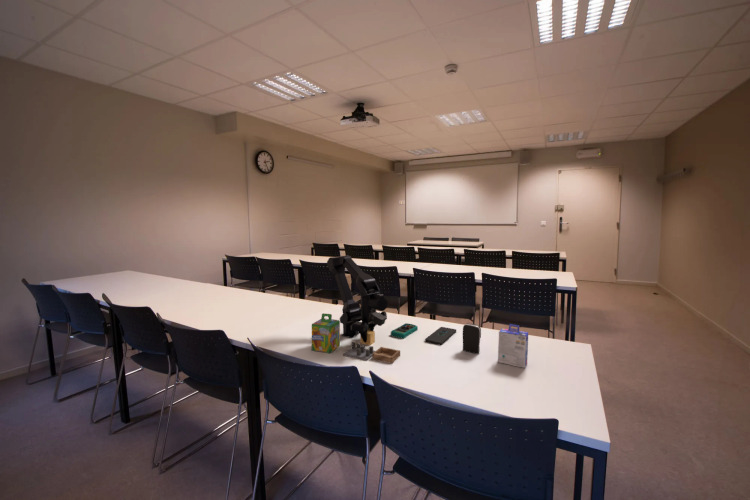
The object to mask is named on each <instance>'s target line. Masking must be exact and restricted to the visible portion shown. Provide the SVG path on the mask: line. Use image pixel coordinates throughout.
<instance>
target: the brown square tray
mask: <svg viewBox="0 0 750 500" xmlns="http://www.w3.org/2000/svg"><path fill="white" fill-rule="evenodd" d="M374 351H375V352H374V353H373V354H372V357H371V358H372V360H375V361H380V362H384V363H388V364H393V363H394V362H395V361H397V360H398V358H400V357H401V350H399V349H394V348H389V347H384V346H380V347H379V348H378V349H376V350H374Z"/></svg>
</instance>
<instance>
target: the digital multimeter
mask: <svg viewBox="0 0 750 500" xmlns="http://www.w3.org/2000/svg"><path fill="white" fill-rule="evenodd" d="M418 329H419V328H418V325H416V324H413V323H407V322H406V323H404V324H402V325H400V326H398V327H397V328H394V329H392V330H391V331H390V336H391V337H394V338H398V339H406V338H407V337H408V336H410V335H412V334H413V333H415V332H417V331H418Z"/></svg>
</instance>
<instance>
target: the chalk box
mask: <svg viewBox="0 0 750 500" xmlns="http://www.w3.org/2000/svg"><path fill="white" fill-rule="evenodd" d="M325 317H326V318H325ZM332 317H333V315H332V314H331V313H321V318H320V319H318V320H316V321H315V322H313V323H311V351H314V352H321V353H327V354H331V353H333V352H334V351H335V350H337V348H339V347H340V346H341V323H340V319H333V318H332Z"/></svg>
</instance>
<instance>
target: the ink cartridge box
mask: <svg viewBox="0 0 750 500" xmlns="http://www.w3.org/2000/svg"><path fill="white" fill-rule="evenodd" d="M512 327H515V328H512ZM497 349H498V350H497V362H498V363H500V364H505V365H509V366H514V367H519V368H523V369H525V368H526V367H527V365H528V351H529V350H528V349H529V331H523V330H520V325H519V324H513V323H509V326H508V328H501V329H500V330H499V331H498V347H497Z"/></svg>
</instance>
